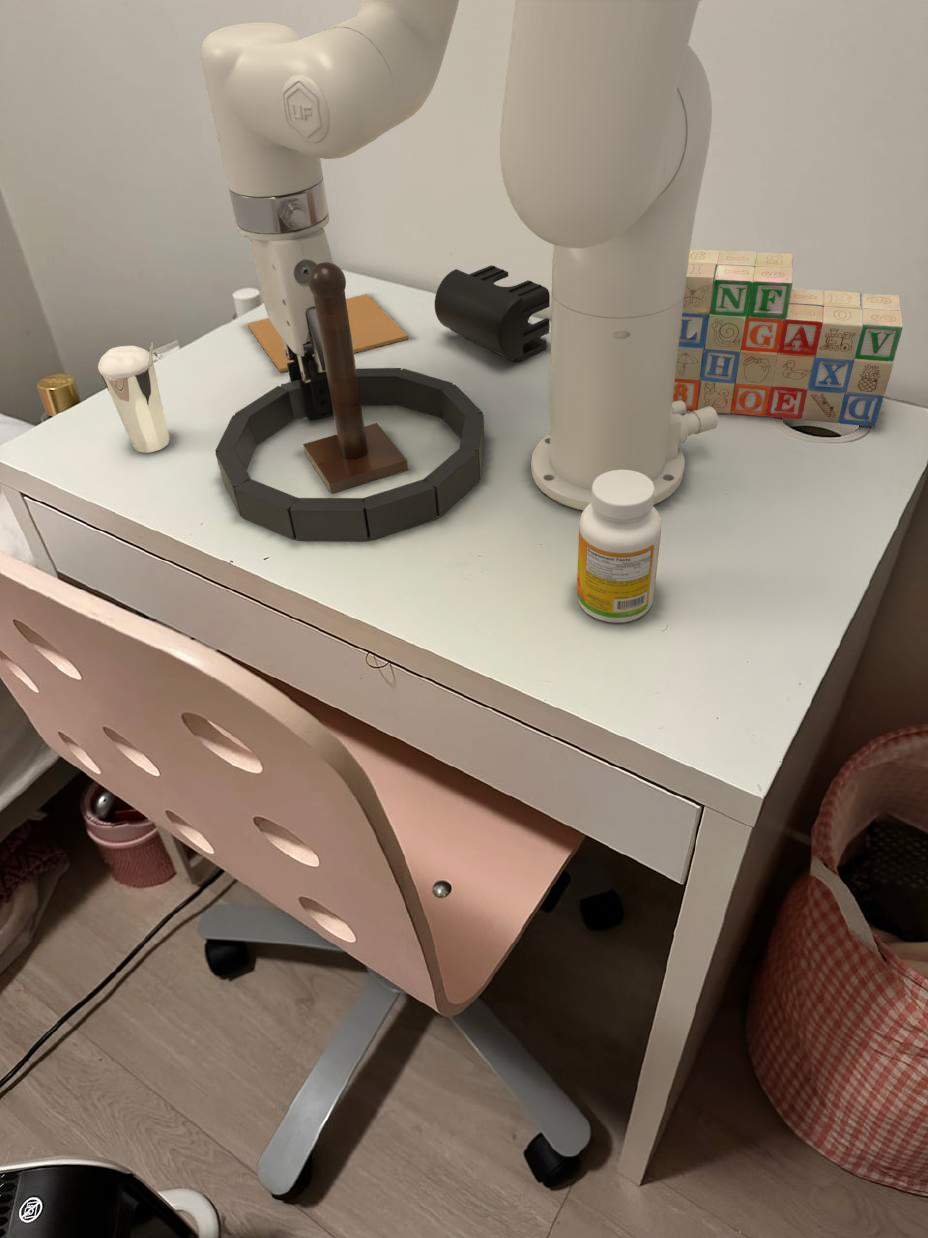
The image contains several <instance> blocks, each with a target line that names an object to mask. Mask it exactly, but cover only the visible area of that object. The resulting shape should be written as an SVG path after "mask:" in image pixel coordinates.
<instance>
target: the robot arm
mask: <svg viewBox="0 0 928 1238" xmlns="http://www.w3.org/2000/svg"><path fill="white" fill-rule="evenodd" d="M702 1H703V0H515V1H514V10H513V18H512V19H513V20H512V28H511V36H510V44H509V52H508V53H509V54H508V62H507V69H506V70H507V71H506V77H505V78H506V79H505V87H504V96H503V104H502V113H501V122H500V135H499V160H500V170H501V177H502V181H503V185H504V189H505V191H506V195H507V197H508V200H509V202H510V204H511V206H512V208H513V210H514V212H515V213H516V214H517V216H518V218H519V219H520V221H522V223H523V224H524V226H525V227H526V228H528V229H529V230H530V231H531V233H533V234H534V235H535V236H536V237H538V238H539V239H541V240H543V241H545V242H547V243H548V244H551V245H553V246H552V260H551V262H552V264H551V266H552V267H551V268H552V269H551V304H550V305H551V306H550V307H551V308H550V311H551V315H550V316H551V317H550V323H551V324H550V401H549V403H550V405H549V407H550V408H549V409H550V410H549V414H550V417H549V433H548V434H547V435H545V436H544V437H543V438H541V439H540V440H539V441H538V443H537V444H536V446H535V447H534V449H533V451H532V453H531V458H530V459H531V461H530V466H531V467H530V470H531V476H532V479H533V481H534V483H535V485H536V486H537V487H538V489H540V490H541V492H542V493H544V494H545V495H546V496H548V497H549V498H550V499H552V500H554V501H555V502H557V503H560V504H561V505H564V506H566V507H570V508H573V509H575V510H579V511H584V509H585V508H586V507H587V506H588V505H589V504H590V503H591V494H592V485H593V482H594V481H595V479H596V478H597V477H598V476H600V475H602V474H604V473H606V472H609V471H613V470H631V471H636V472H639V473H641V474H644V475H645V476H647V477H648V478H649V479H650V480H651V481H652V482H653V484H654V488H655V491H654V504H653V506H654V505H657V504H659V503H661V502H663V501H665V500H666V499H667V498H669V497H670V496H672V495H673V494H674V492H676V490H677V489H679V487H680V486H681V483H682V482H683V479H684V472H685V457H684V454H683V451H682V449H681V448H680V447H679V445H681V444H683V443H685V442H686V441H687V440H688V437H689V436H693V435H698V434H703V433H705V432H707V431H711V430H714V429H716V428H717V427H718V425H719V416H718V413H717V412H716V411H715V409H714V408H713V407H710V406H708V407H704V408H701V409H698V410H691V411H690V412H689V413H687V410H686V405H685V403H684V402H683V401H681V400H679V401H675V402H672V400H673V391H674V382H675V373H676V364H677V355H678V346H679V337H680V329H681V320H682V311H683V302H684V294H685V288H686V279H687V270H688V262H689V254H690V249H691V245H692V239H693V231H694V224H695V219H696V213H697V207H698V202H699V197H700V192H701V187H702V182H703V177H704V172H705V168H706V162H707V157H708V151H709V147H710V140H711V139H710V138H711V132H712V120H713V117H712V116H713V105H712V104H713V103H712V94H711V87H710V83H709V78H708V76H707V72H706V71H705V68H704V66H703V64H702V62H701V60H700V59H699V57H698V55H697V53H696V52H695V51H694V49H693V48H692V47H691V46H690V45H689V42H690V38H691V34H692V32H693V31H692V30H693V26H694V22H695V18H696V14H697V11H698V7H699V3H700V2H702ZM459 3H460V0H360V2H359V5H358V9H357V12H356V16H354V17H352V18H351V17H350V18H349V19H347V20H345V21H342V22H339V23H337V24H335V25H333V26H331V27H328V28H325V29H324V30H322V31H320V32H317V33H314V34H311V35H308V36H307V37H303V38H300V36H299V34H298V33H297V32H296V31H295V30H294V29H293V28H292V27H290V26H288V25H286V24H283V23H278V22H269V21H268V22H267V21H262V22H261V21H260V22H259V21H258V22H257V21H256V22H245V23H239V24H238V23H237V24H233V25H228V26H224V27H221V28H218V29H215V30H213V32H211V33H209V34H207V36H206V37H205V38H204V39H203V42H202V45H201V48H200V61H201V67H202V71H203V75H204V81H205V85H206V90H207V94H208V99H209V103H210V108H211V113H212V117H213V122H214V126H215V131H216V135H217V136H216V137H217V139H218V144H219V145H218V146H219V149H220V154H221V158H222V163H223V168H224V172H225V176H226V182H227V185H228V190H229V191H228V192H229V196H230V200H231V204H232V209H233V213H234V219H235V224H236V228H237V231H238V233H239V234H240V235H241V236H242V237H244V238H248V239H250V242H251V246H252V251H253V257H254V264H255V268H256V273H257V278H258V284H259V288H260V292H261V297H262V302H263V304H264V308H265V311H266V315H267V318H269V319H270V321H271V323H272V324H273V326H274V327H275V329H276V330H277V331H278V333H279V334H280V336H281V337H282V338H283V344H284V349H285V354H286V357H287V360H288V361H293V362H290V363H287V367H288V371H287V372H288V376H289V382H293V381H296V380H299V384H300V389H301V394H302V399H303V405H304V410H305V415H306V416H305V418H307V420H309V421H313V420H317V419H321V418H324V417H328V416H332V415H334V414H333V408H332V402H331V396H330V390H329V385H328V379H327V373H326V367H325V361H324V355H323V349H322V344H321V338H320V332H319V326H318V320H317V314H316V308H315V302H314V297H313V293H312V292H311V290H310V288H309V282H308V281H309V275H310V272H311V270H312V269H313V268H314V267H315V266H316V265H318V264H320V263H323V262H329V263H333V264H334V260H333V256H332V251H331V248H330V245H329V241H328V238H327V235H326V232H325V229H324V228H325V227H326V226H327V225H328V224H329V222H330V213H329V208H328V207H329V206H328V201H327V194H326V187H325V181H324V174H323V168H322V161H321V160H322V159H323V160H336V159H341V158H344V157H348V156H349V155H352V154H354V153H356V152H357V151H359V150H360V149H362V148H364V147H366V146H368V145H369V144H371V143H372V142H374V141H376V140H377V139H379V137H381V136H382V135H384V134H385V133H387V132H389V131H390V130H392V129H393V128H395V127H397V126H399V125H401V124H403V123H404V122H406V121H407V120H408V119H410V118H412V117H413V116H414V115H416V113H418V111H420V110H421V108H422V107H423V106H424V105H425V103H426V101H427V100H428V99H429V96H430V94H431V93H432V91H433V89H434V86H435V84H436V81H437V79H438V76H439V73H440V70H441V67H442V65H443V61H444V57H445V54H446V51H447V47H448V45H449V44H448V43H449V40H450V37H451V33H452V29H453V25H454V21H455V19H456V15H457V12H458V11H457V10H458V7H459ZM313 355H315V356H313Z"/></svg>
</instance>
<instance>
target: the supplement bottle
mask: <svg viewBox="0 0 928 1238" xmlns="http://www.w3.org/2000/svg"><path fill="white" fill-rule="evenodd" d="M654 491H655V488H654V484H653V482H652V481H651V480H650V479H649V478H648V477H647V476H645V475H644V474H641V473H639V472H636V471H631V470H613V471H609V472H606V473H604V474H602V475H600V476H598V477H597V478H596V479H595V481H594V482H593V485H592V494H591V503H590V504H589V505H588V506H587V507H586V508H585V509H584V510H582V513H581V514H580V518H579V525H578V548H577V549H578V551H577V572H576V573H577V574H576V575H577V576H576V578H577V579H576V598H577V602H578V604H579V606H580V608H581V609H582V610H583V611H584V612H585V613H586V614H587V615H589V616H591V617H592V618H594V619H596V620H599V621H601V622H608V623H617V624H619V623H628V622H632V621H635V620H638V619H640V618H641V617H643V616H644V615H646V614H647V613H648V611H649V610H650V609H651V607H652V605H653V602H654V597H655V590H656V582H657V581H656V579H657V569H658V561H659V555H660V554H659V553H660V545H661V544H660V543H661V535H662V518H661V516H660V513H659V512H658V510H657V509H656V507H654V505H655V504H654ZM653 504H654V505H653Z"/></svg>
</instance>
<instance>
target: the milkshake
mask: <svg viewBox="0 0 928 1238" xmlns="http://www.w3.org/2000/svg"><path fill="white" fill-rule="evenodd" d="M149 346H150V347H149V351H148V350H147V349H144V348H142V347H139V346H136V345H123V346H116V347H112V348H110V349H108V350H107V351H106V352H105V353H104V354H103V355H102V356H101V357H100V359H99V362H98V365H97V368H98V372H99V374H100V376H101V378H102V381H103V382H104V384H105V387H106V389H107V390H108V393H109V395H110V397H111V399H112V402H113V404H114V406H115V408H116V411H117V413H118V417H119V418H120V420H121V422H122V425H123V427H124V429H125V431H126V433H127V436H128V438H129V441H130V443H131V445H132V448H134V450H135V451H137V452H138V453H145V454H152V453H154V452H159V451H162V450H163V449H165V448H166V447H167V446H169V443H170V440H171V437H170V432H169V428H168V424H167V419H166V415H165V410H164V406H163V402H162V397H161V394H160V389H159V384H158V378H157V373H156V368H155V364H154V363H155V362H154V358H153V348H154V341H152V342H151V343H150V345H149Z"/></svg>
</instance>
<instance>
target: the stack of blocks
mask: <svg viewBox="0 0 928 1238" xmlns="http://www.w3.org/2000/svg"><path fill="white" fill-rule="evenodd" d="M793 262H794V254H793V253H786V252H784V253H783V252H765V251H764V252H762V251H757V252H756V251H747V250H746V251H745V250H715V249H714V250H713V249H694V248H693V249H692V248H690V254H689V262H688V270H687V279H686V288H685V294H684V302H683V311H682V320H681V329H680V337H679V346H678V355H677V364H676V373H675V382H674V391H673V400H672V402H675V401H679V400H681V401H683V402H684V403H685V405H686V411H687V410H688V411H695V410H698V409H701V408H704V407H708V406H710V407H713V408H714V409H715V411H716V413H717V414H718V413H719V414H736V415H749V416H758V417H759V416H760V417H764V416H765V417H770V418H771V417H772V418H780V419H793V420H794V419H795V420H802V421H809V422H811V421H812V422H821V423H831V424H841V425H851V426H859V427H860V426H863V427H875V426H876V425H877V421H878V418H879V414H880V411H881V407H882V404H883V401H884V397H885V394H886V392H887V388H888V384H889V381H890V377H891V374H892V372H893V371H892V370H893V366H894V361H895V358H896V355H897V350H898V347H899V343H900V339H901V336H902V332H903V326H904V325H903V319H902V318H903V315H902V311H901V303H900V295H897V294H883V293H882V294H881V293H866V292H865V293H861V292H855V291H841V290H840V291H839V290H821V289H809V288H808V289H805V288H793V278H794V268H793V264H794V263H793Z"/></svg>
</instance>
